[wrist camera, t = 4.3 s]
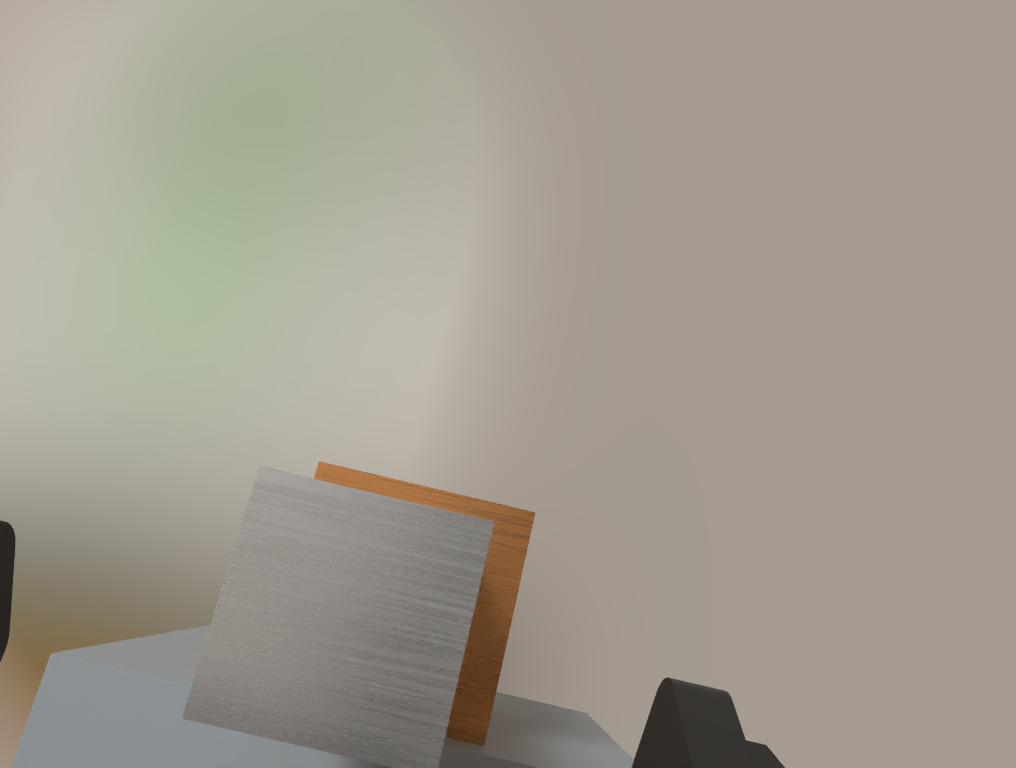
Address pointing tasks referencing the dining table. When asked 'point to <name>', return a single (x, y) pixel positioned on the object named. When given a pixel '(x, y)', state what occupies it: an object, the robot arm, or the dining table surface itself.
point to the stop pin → (362, 616)
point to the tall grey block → (239, 756)
